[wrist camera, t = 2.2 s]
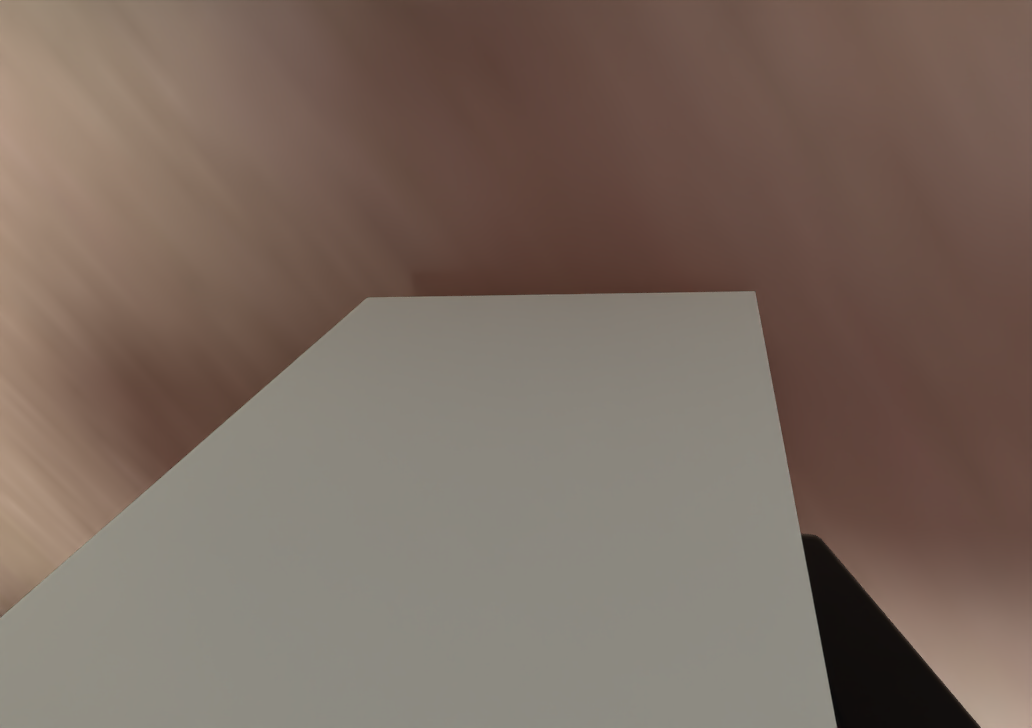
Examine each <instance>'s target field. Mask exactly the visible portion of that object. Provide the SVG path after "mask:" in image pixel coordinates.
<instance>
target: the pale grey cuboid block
mask: <svg viewBox="0 0 1032 728" xmlns="http://www.w3.org/2000/svg"><path fill="white" fill-rule="evenodd" d="M0 728H837V725H836V720H835V714H834V709H833V704H832V698H831V693H830V688H829V682H828V677H827V672H826V666H825V661H824V656H823V650H822V645H821V640H820V634H819V629H818V624H817V618H816V613H815V608H814V602H813V597H812V592H811V586H810V581H809V576H808V570H807V565H806V560H805V554H804V549H803V544H802V538H801V533H800V528H799V522H798V517H797V512H796V506H795V501H794V496H793V490H792V485H791V480H790V474H789V469H788V464H787V458H786V453H785V448H784V442H783V437H782V432H781V426H780V421H779V416H778V410H777V405H776V400H775V394H774V389H773V384H772V378H771V373H770V368H769V362H768V357H767V352H766V346H765V341H764V336H763V330H762V325H761V320H760V314H759V309H758V304H757V298H756V293H755V291H740V292H677V293H615V294H553V295H490V296H428V297H367V298H366V299H365V300H364V301H363V302H361V303H360V304H359V305H358V306H357V307H356V308H355V309H353V310H352V311H351V312H350V313H349V314H348V315H347V316H345V317H344V318H343V319H342V320H341V321H340V322H339V323H337V324H336V325H335V326H334V327H333V328H332V329H331V330H329V331H328V332H327V333H326V334H325V335H324V336H323V337H321V338H320V339H319V340H318V341H317V342H316V343H314V344H313V345H312V346H311V347H310V348H309V349H308V350H306V351H305V352H304V353H303V354H302V355H301V356H300V357H298V358H297V359H296V360H295V361H294V362H293V363H292V364H290V365H289V366H288V367H287V368H286V369H285V370H284V371H282V372H281V373H280V374H279V375H278V376H277V377H276V378H274V379H273V380H272V381H271V382H270V383H269V384H268V385H266V386H265V387H264V388H263V389H262V390H261V391H259V392H258V393H257V394H256V395H255V396H254V397H253V398H251V399H250V400H249V401H248V402H247V403H246V404H245V405H243V406H242V407H241V408H240V409H239V410H238V411H237V412H235V413H234V414H233V415H232V416H231V417H230V418H229V419H227V420H226V421H225V422H224V423H223V424H222V425H221V426H219V427H218V428H217V429H216V430H215V431H214V432H212V433H211V434H210V435H209V436H208V437H207V438H206V439H204V440H203V441H202V442H201V443H200V444H199V445H198V446H196V447H195V448H194V449H193V450H192V451H191V452H190V453H188V454H187V455H186V456H185V457H184V458H183V459H182V460H180V461H179V462H178V463H177V464H176V465H175V466H174V467H172V468H171V469H170V470H169V471H168V472H167V473H166V474H164V475H163V476H162V477H161V478H160V479H159V480H157V481H156V482H155V483H154V484H153V485H152V486H151V487H149V488H148V489H147V490H146V491H145V492H144V493H143V494H141V495H140V496H139V497H138V498H137V499H136V500H135V501H133V502H132V503H131V504H130V505H129V506H128V507H127V508H125V509H124V510H123V511H122V512H121V513H120V514H119V515H117V516H116V517H115V518H114V519H113V520H112V521H110V522H109V523H108V524H107V525H106V526H105V527H104V528H102V529H101V530H100V531H99V532H98V533H97V534H96V535H94V536H93V537H92V538H91V539H90V540H89V541H88V542H86V543H85V544H84V545H83V546H82V547H81V548H80V549H78V550H77V551H76V552H75V553H74V554H73V555H72V556H70V557H69V558H68V559H67V560H66V561H65V562H64V563H62V564H61V565H60V566H59V567H58V568H57V569H55V570H54V571H53V572H52V573H51V574H50V575H49V576H47V577H46V578H45V579H44V580H43V581H42V582H41V583H39V584H38V585H37V586H36V587H35V588H34V589H33V590H31V591H30V592H29V593H28V594H27V595H26V596H25V597H23V598H22V599H21V600H20V601H19V602H18V603H17V604H15V605H14V606H13V607H12V608H11V609H10V610H8V611H7V612H6V613H5V614H4V615H3V616H2V617H0Z"/></svg>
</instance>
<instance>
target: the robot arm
mask: <svg viewBox="0 0 1032 728" xmlns="http://www.w3.org/2000/svg"><path fill="white" fill-rule="evenodd" d="M801 538H802V544H803V549H804V554H805V560H806V565H807V570H808V576H809V581H810V586H811V592H812V597H813V602H814V608H815V613H816V618H817V624H818V629H819V634H820V640H821V645H822V650H823V656H824V661H825V666H826V672H827V677H828V682H829V688H830V693H831V698H832V704H833V709H834V714H835V720H836V725H837V728H981V727H980V726H979V725H978V724H977V722H976V721H975V720H974V719H973V718H972V716H971V715H970V714H969V713H968V712H967V711H966V709H965V708H964V707H963V706H962V705H961V703H960V702H959V701H958V700H957V699H956V698H955V696H954V695H953V694H952V693H951V692H950V690H949V689H948V688H947V687H946V686H945V685H944V683H943V682H942V681H941V680H940V679H939V677H938V676H937V675H936V674H935V673H934V672H933V670H932V669H931V668H930V667H929V666H928V664H927V663H926V662H925V661H924V660H923V659H922V657H921V656H920V655H919V654H918V653H917V651H916V650H915V649H914V648H913V647H912V646H911V644H910V643H909V642H908V641H907V640H906V638H905V637H904V636H903V635H902V634H901V632H900V631H899V630H898V629H897V628H896V627H895V625H894V624H893V623H892V622H891V621H890V619H889V618H888V617H887V616H886V615H885V614H884V612H883V611H882V610H881V609H880V608H879V606H878V605H877V604H876V603H875V602H874V601H873V599H872V598H871V597H870V596H869V595H868V593H867V592H866V591H865V590H864V589H863V588H862V586H861V585H860V584H859V583H858V582H857V580H856V579H855V578H854V577H853V576H852V575H851V573H850V572H849V571H848V570H847V569H846V567H845V566H844V565H843V564H842V563H841V562H840V560H839V559H838V558H837V557H836V556H835V554H834V553H833V552H832V551H831V550H830V549H829V547H828V546H827V545H826V544H825V543H824V541H823V540H822V539H821V538H819V537H818V536H816V535H811V534H801Z"/></svg>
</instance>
